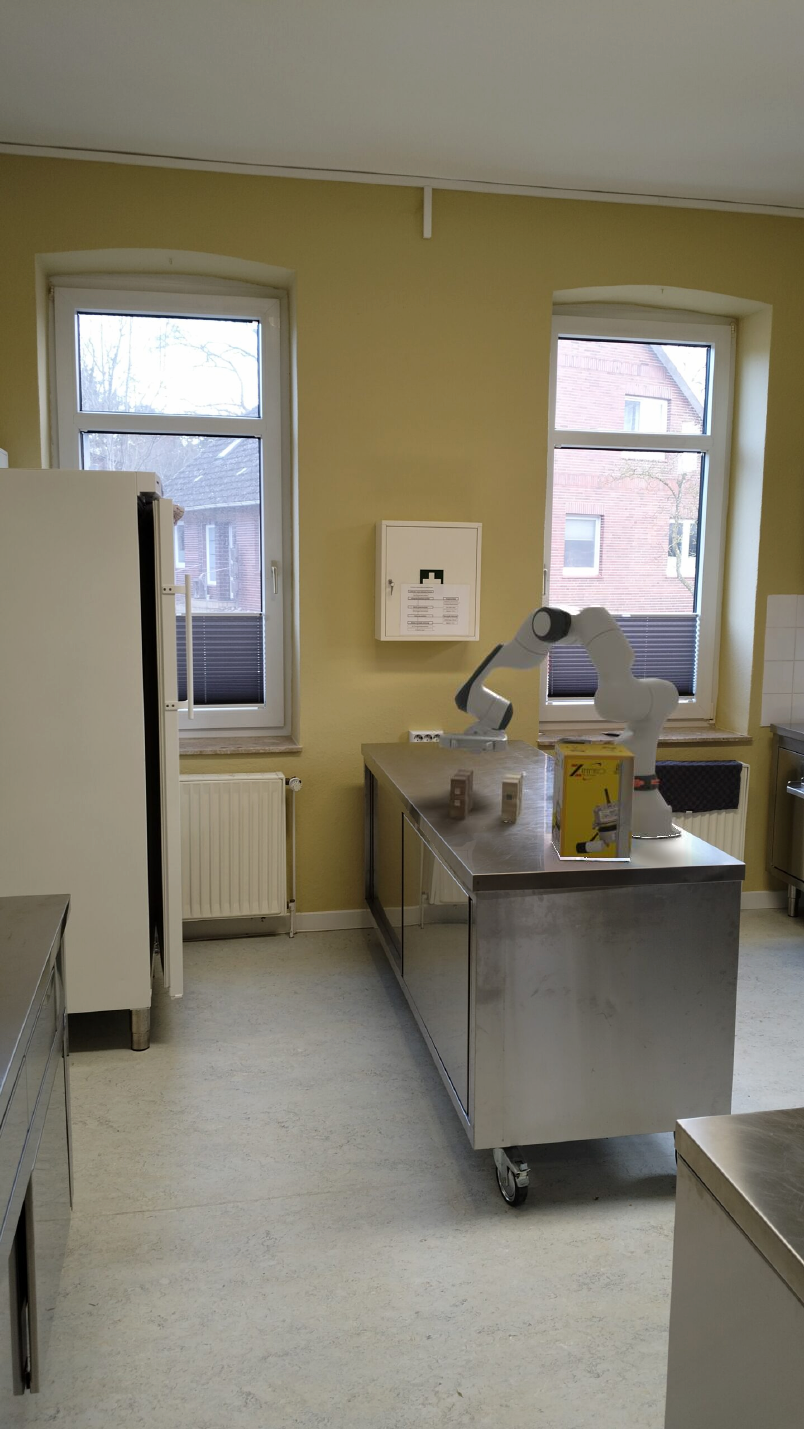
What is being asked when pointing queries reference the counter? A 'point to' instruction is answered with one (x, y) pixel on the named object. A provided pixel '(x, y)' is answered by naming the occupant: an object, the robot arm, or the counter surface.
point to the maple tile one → (511, 797)
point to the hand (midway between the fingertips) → (470, 746)
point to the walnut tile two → (461, 794)
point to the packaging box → (593, 800)
